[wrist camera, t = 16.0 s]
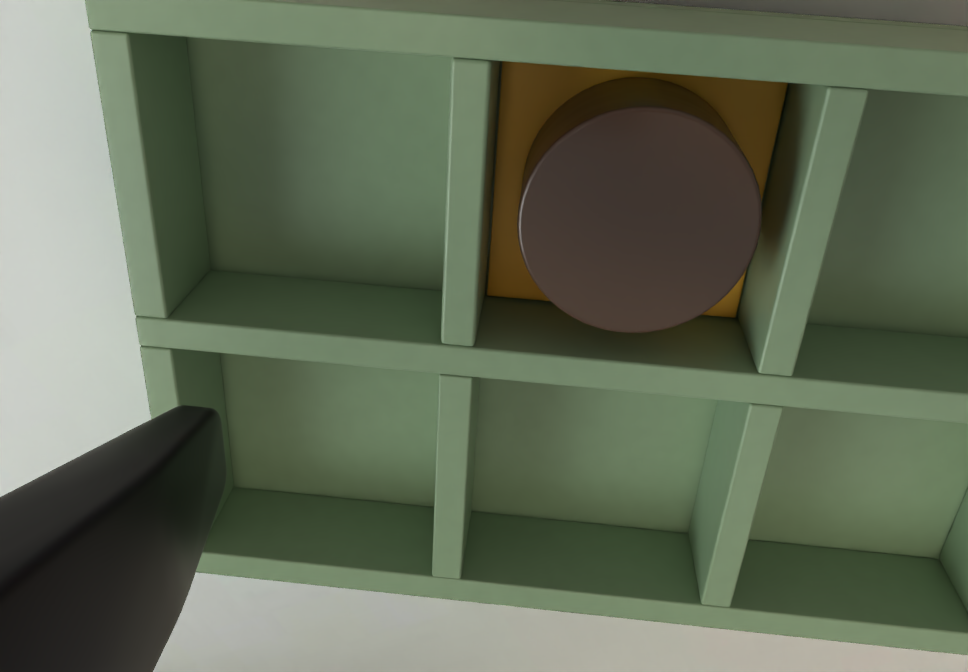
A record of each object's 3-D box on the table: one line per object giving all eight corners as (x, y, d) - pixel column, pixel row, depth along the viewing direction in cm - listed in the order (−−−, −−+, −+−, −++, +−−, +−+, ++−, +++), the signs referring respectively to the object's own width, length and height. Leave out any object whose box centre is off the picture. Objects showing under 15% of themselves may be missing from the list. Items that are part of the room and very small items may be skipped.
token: (656, 316, 19) (666, 372, 17) (484, 218, 18) (473, 263, 16) (786, 150, 17) (815, 190, 15) (599, 32, 16) (603, 56, 14)
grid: (947, 564, 23) (998, 659, 20) (219, 490, 24) (174, 570, 21) (1170, 39, 16) (1289, 75, 14) (158, -33, 17) (81, -13, 15)
